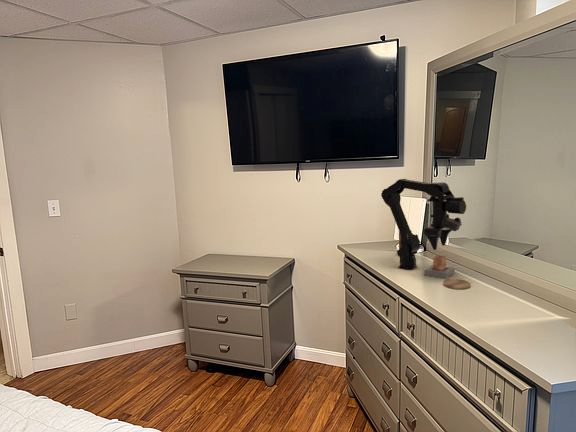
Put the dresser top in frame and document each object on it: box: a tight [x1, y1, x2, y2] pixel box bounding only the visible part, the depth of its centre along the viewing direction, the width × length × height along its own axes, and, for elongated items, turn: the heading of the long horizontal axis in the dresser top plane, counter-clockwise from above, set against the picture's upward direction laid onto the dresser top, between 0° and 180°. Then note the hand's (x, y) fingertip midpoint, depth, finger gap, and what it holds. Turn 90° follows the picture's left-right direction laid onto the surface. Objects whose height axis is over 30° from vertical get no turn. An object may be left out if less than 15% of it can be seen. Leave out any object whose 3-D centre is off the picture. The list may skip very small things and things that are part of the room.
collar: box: [423, 264, 456, 280], centre depth 169 cm, size 10×10×2 cm
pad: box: [442, 278, 471, 291], centre depth 155 cm, size 10×10×1 cm
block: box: [432, 254, 447, 271], centre depth 169 cm, size 4×4×8 cm
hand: (439, 247), depth 168 cm, fingers open, 9 cm apart
